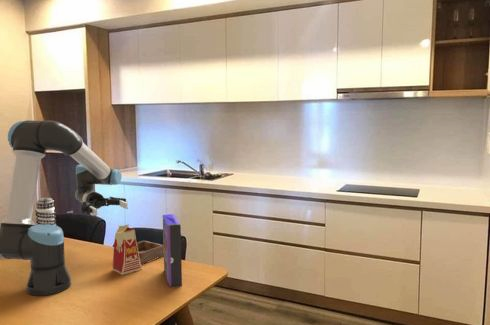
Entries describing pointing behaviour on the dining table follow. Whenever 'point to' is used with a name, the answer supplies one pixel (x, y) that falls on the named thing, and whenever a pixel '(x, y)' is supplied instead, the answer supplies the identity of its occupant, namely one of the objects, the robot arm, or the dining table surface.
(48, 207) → the spiral seashell
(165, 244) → the cereal box
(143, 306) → the dining table surface
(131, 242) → the milk carton
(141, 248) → the open box
